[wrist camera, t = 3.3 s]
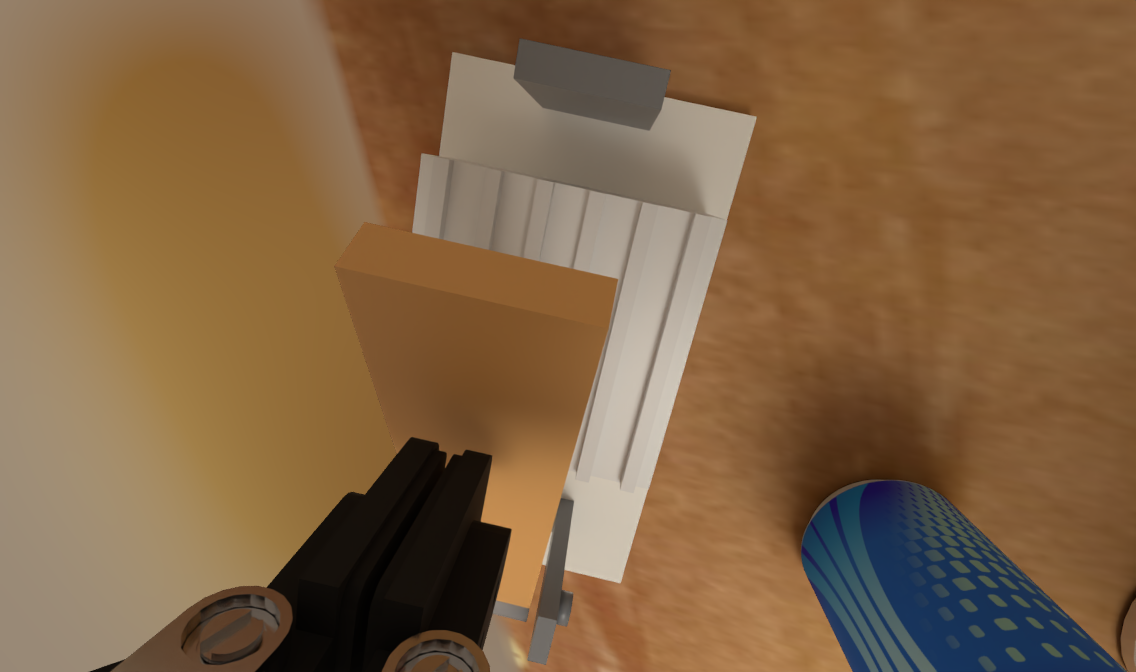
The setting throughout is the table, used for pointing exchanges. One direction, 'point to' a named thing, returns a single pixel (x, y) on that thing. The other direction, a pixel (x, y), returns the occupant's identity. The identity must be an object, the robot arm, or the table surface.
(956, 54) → the table surface
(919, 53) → the table surface
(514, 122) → the heatsink base
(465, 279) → the orange rectangular bar
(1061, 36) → the table surface
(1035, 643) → the beer can
